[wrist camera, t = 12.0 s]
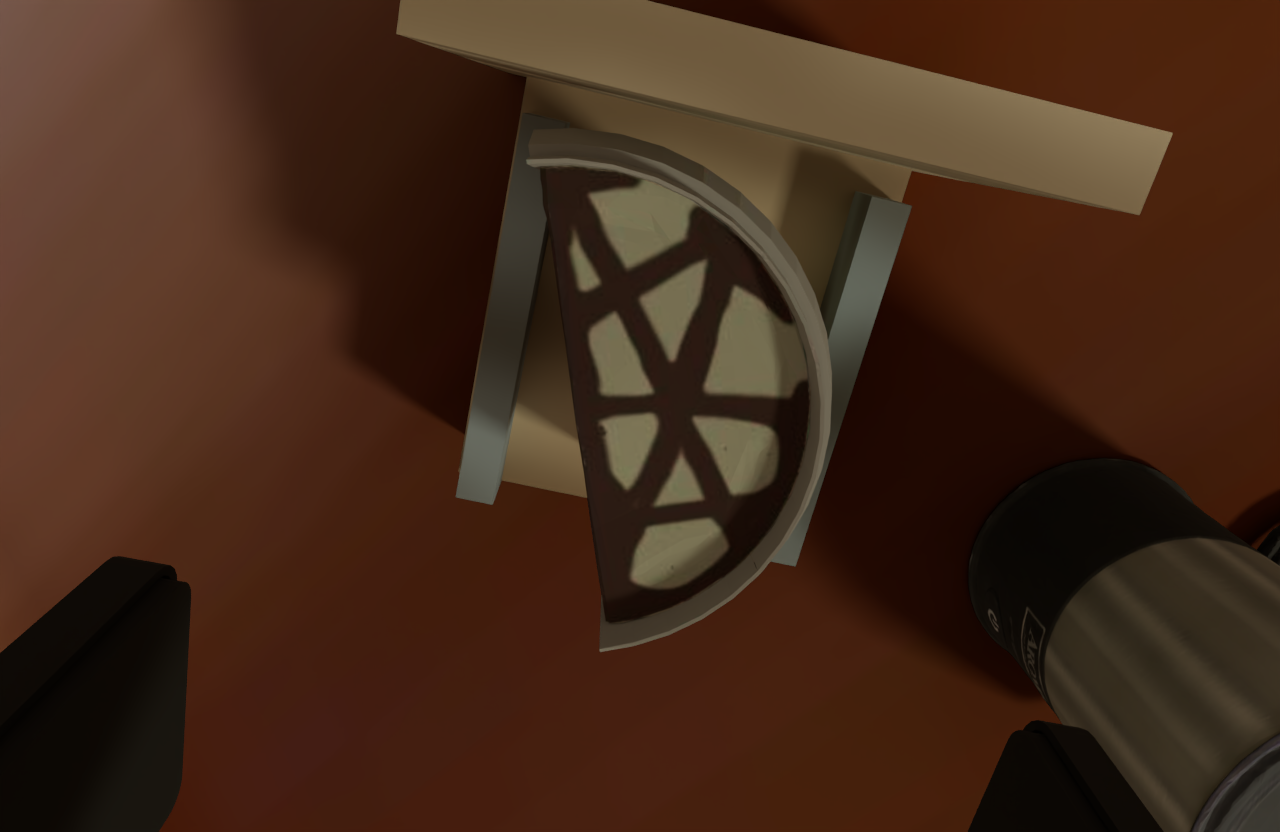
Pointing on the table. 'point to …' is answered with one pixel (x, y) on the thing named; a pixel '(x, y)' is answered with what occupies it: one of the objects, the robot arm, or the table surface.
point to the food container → (680, 375)
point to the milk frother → (1144, 635)
